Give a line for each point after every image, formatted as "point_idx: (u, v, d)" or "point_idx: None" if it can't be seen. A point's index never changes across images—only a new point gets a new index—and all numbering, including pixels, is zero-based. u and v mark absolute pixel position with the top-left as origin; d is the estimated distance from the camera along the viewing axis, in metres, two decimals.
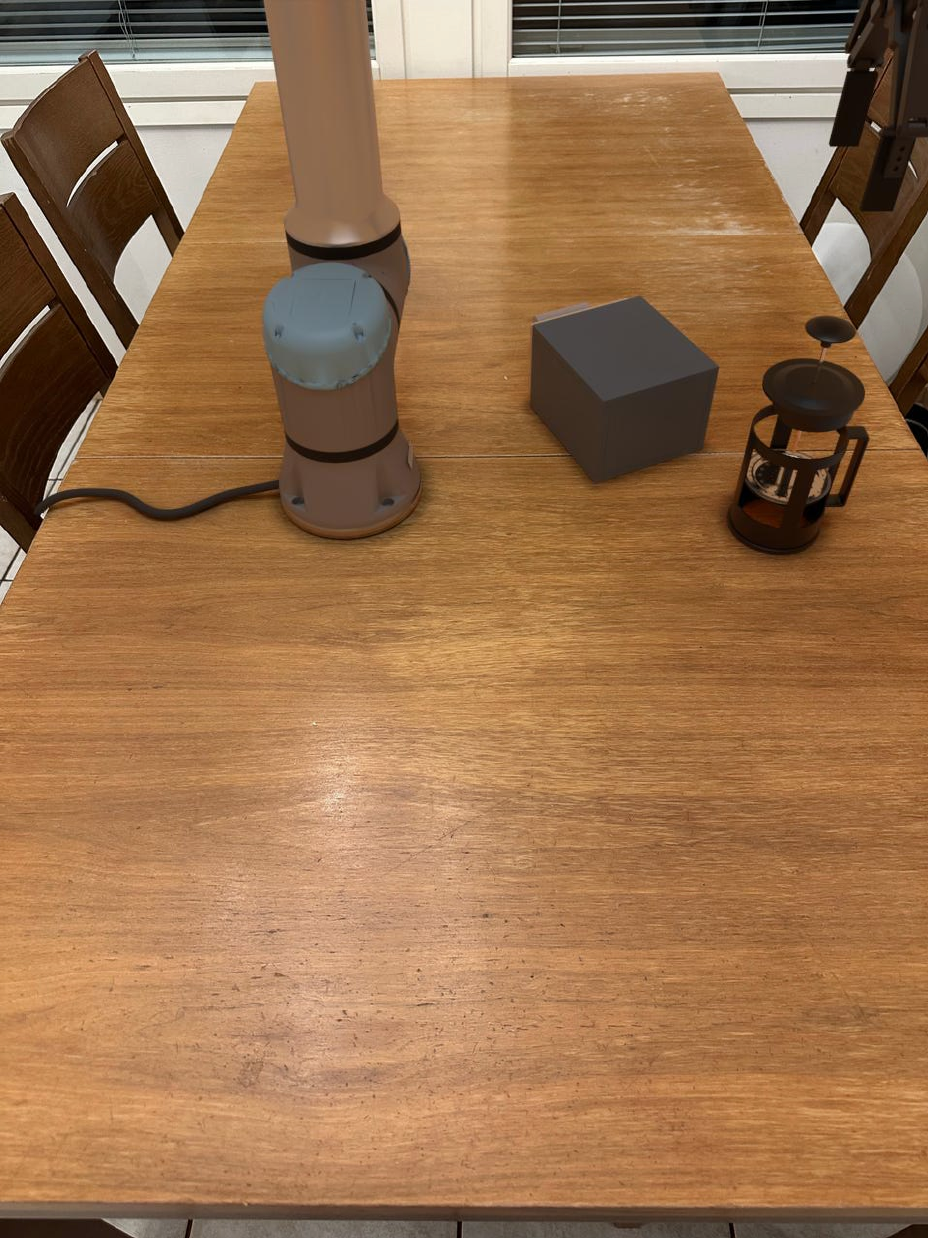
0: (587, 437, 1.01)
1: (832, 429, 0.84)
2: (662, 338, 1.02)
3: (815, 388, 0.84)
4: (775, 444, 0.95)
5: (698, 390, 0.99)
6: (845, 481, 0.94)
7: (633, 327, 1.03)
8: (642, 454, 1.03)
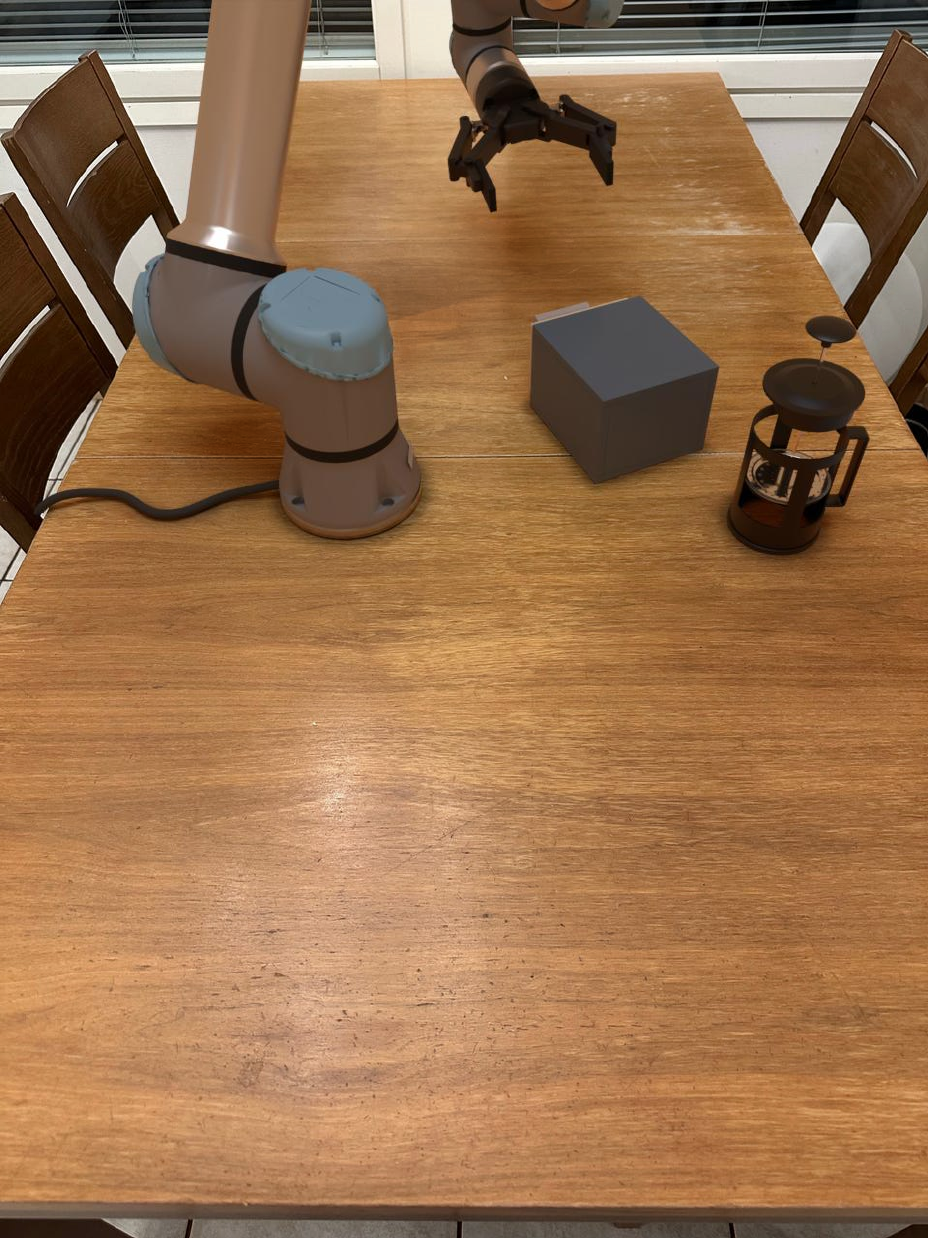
0: (587, 437, 1.01)
1: (832, 429, 0.84)
2: (662, 338, 1.02)
3: (815, 388, 0.84)
4: (776, 444, 0.95)
5: (698, 390, 0.99)
6: (845, 481, 0.94)
7: (633, 327, 1.03)
8: (642, 454, 1.03)
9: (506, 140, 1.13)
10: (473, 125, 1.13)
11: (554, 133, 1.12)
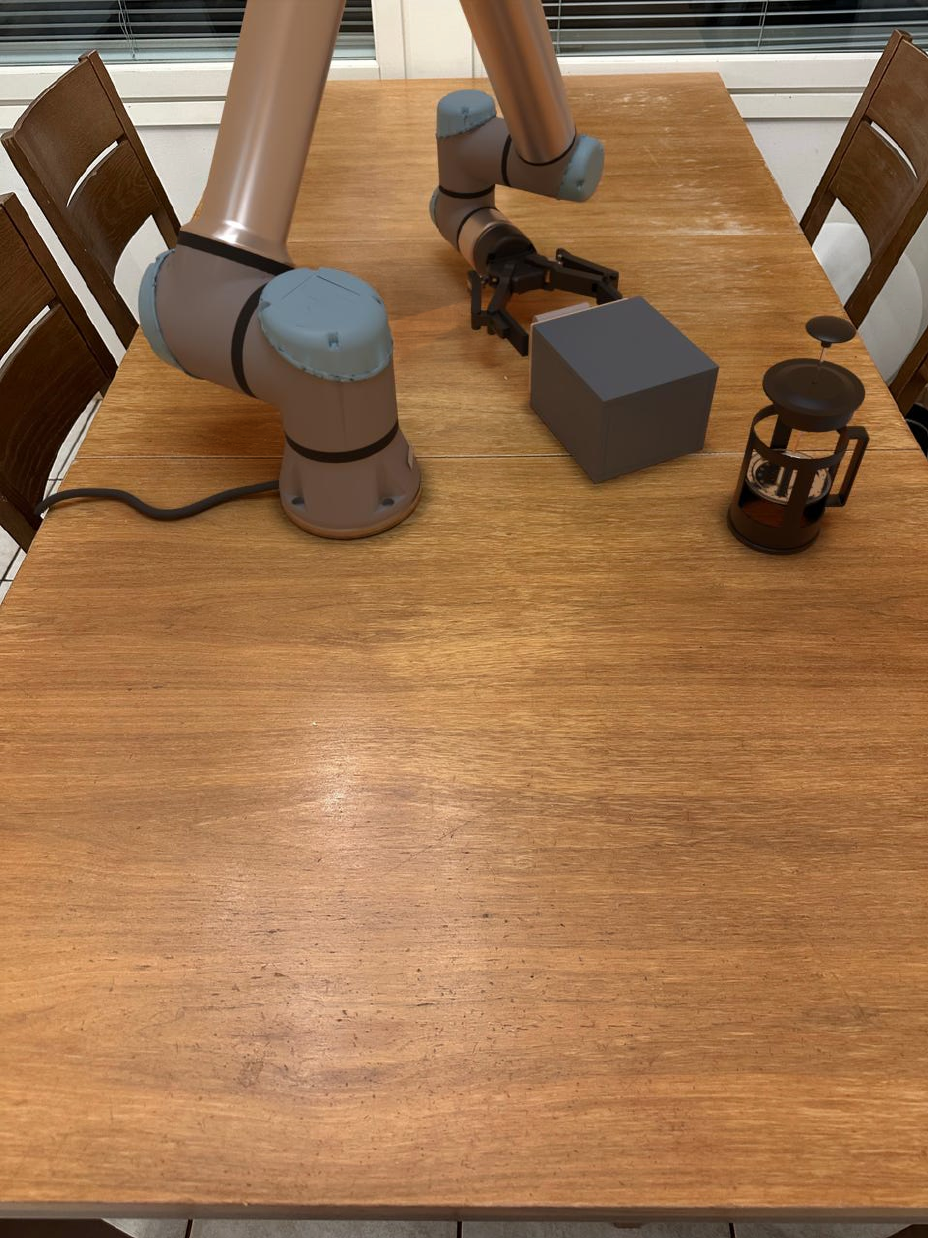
0: (587, 437, 1.01)
1: (832, 429, 0.84)
2: (662, 338, 1.02)
3: (815, 388, 0.84)
4: (776, 444, 0.95)
5: (698, 390, 0.99)
6: (845, 481, 0.94)
7: (633, 327, 1.03)
8: (642, 454, 1.03)
9: (514, 290, 1.17)
10: (482, 278, 1.17)
11: (558, 283, 1.18)
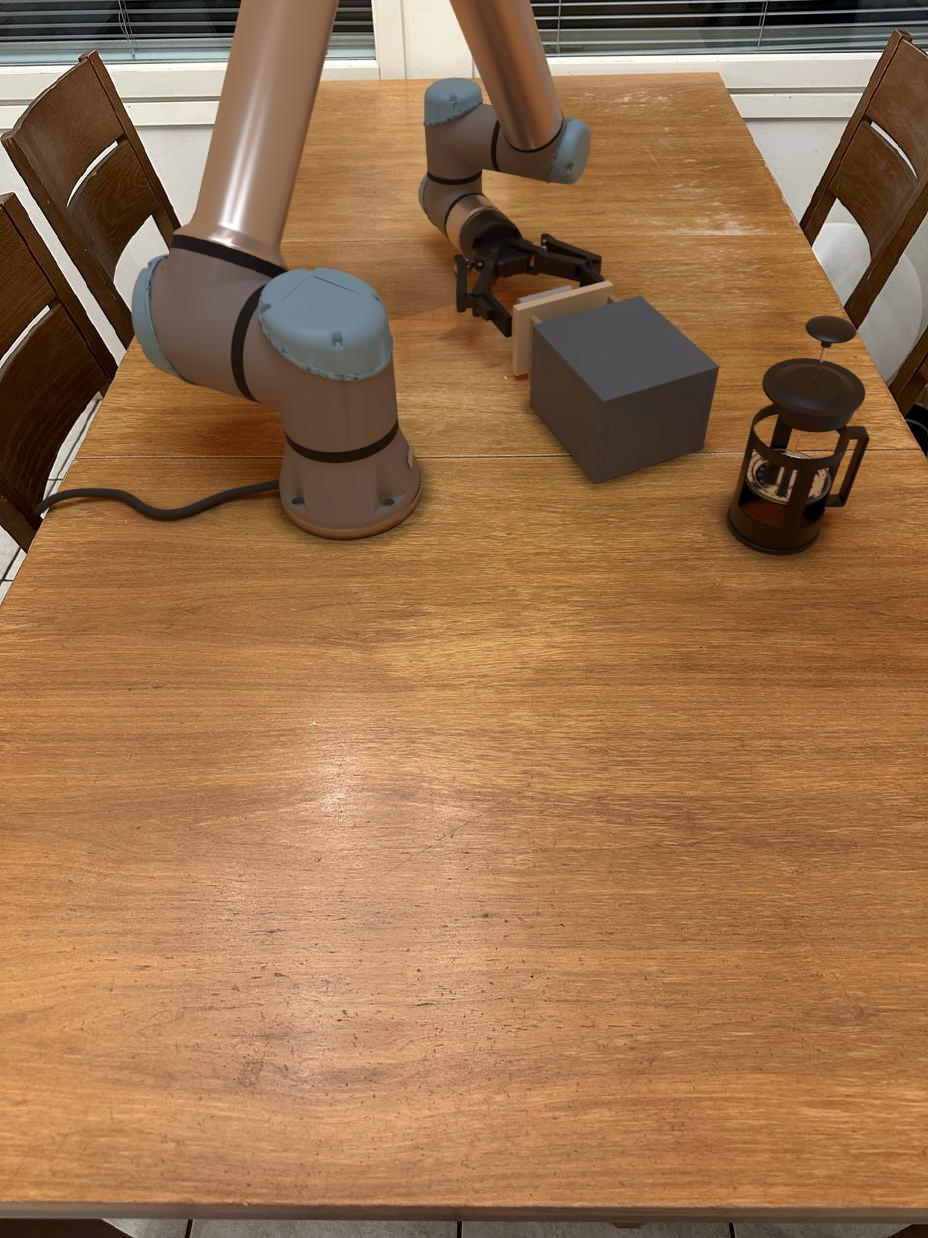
0: (587, 437, 1.01)
1: (832, 429, 0.84)
2: (662, 338, 1.02)
3: (815, 388, 0.84)
4: (776, 444, 0.95)
5: (698, 390, 0.99)
6: (845, 481, 0.94)
7: (633, 327, 1.03)
8: (642, 454, 1.03)
9: (499, 274, 1.20)
10: (468, 262, 1.20)
11: (543, 267, 1.21)
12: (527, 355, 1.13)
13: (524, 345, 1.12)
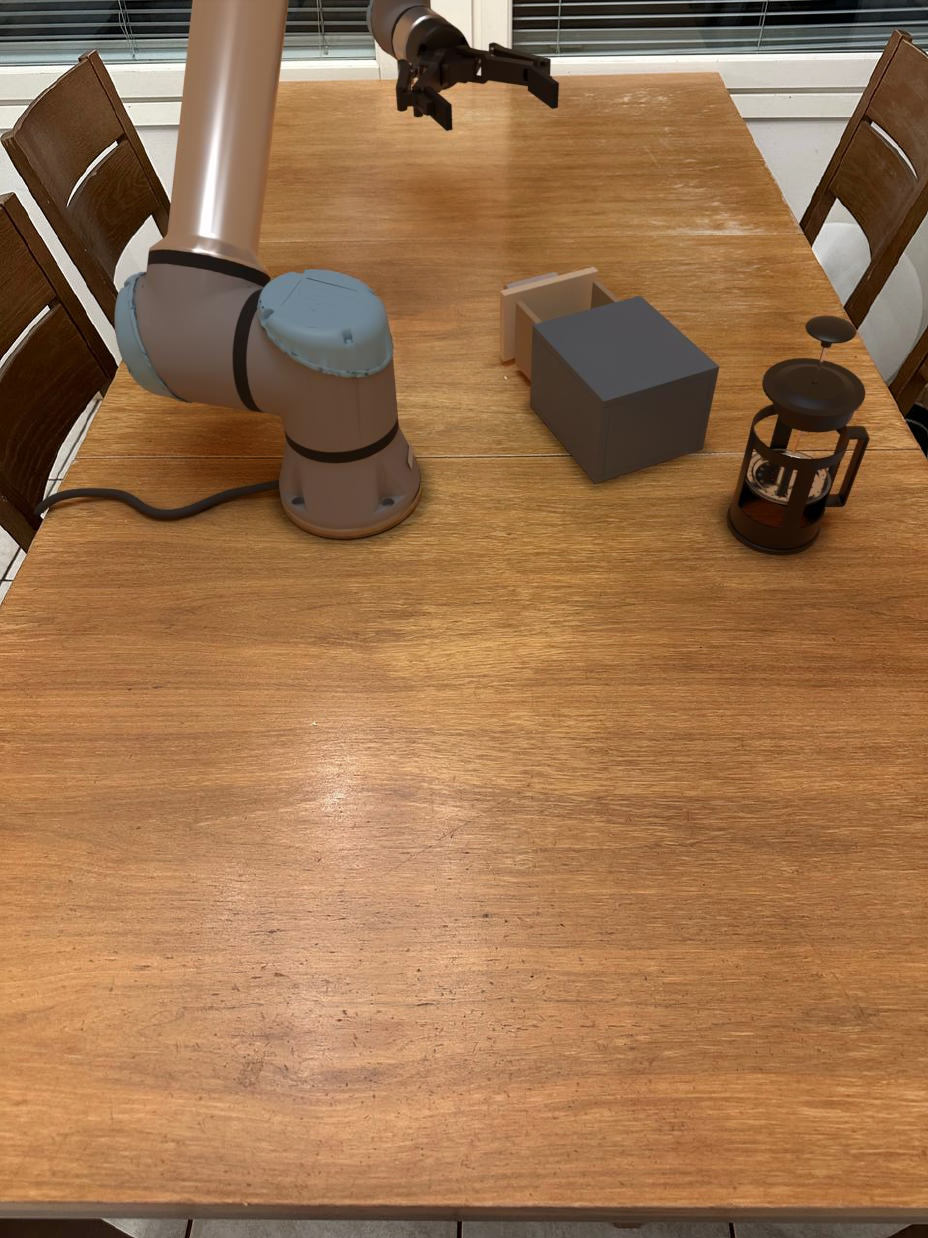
0: (587, 437, 1.01)
1: (832, 429, 0.84)
2: (662, 338, 1.02)
3: (815, 388, 0.84)
4: (776, 444, 0.95)
5: (698, 390, 0.99)
6: (845, 481, 0.94)
7: (633, 327, 1.03)
8: (642, 454, 1.03)
9: (445, 80, 1.16)
10: (411, 66, 1.16)
11: (490, 73, 1.17)
12: (514, 340, 1.15)
13: (511, 330, 1.14)
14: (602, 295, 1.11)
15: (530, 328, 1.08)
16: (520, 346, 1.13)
